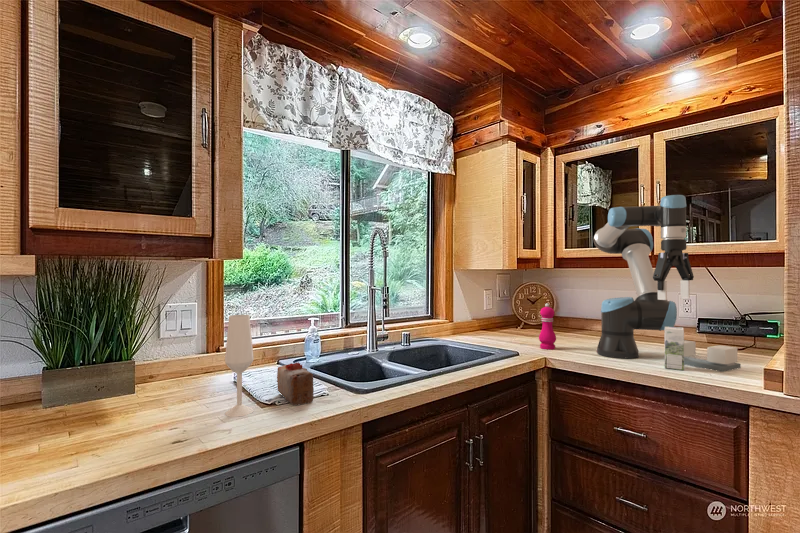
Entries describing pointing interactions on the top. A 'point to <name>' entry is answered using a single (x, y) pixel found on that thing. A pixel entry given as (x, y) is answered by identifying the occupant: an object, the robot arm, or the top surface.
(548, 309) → the pepper mill
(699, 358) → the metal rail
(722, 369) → the board
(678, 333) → the syrup box
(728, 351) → the block
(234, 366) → the champagne flute
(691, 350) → the left module
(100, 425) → the top surface
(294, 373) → the food item
